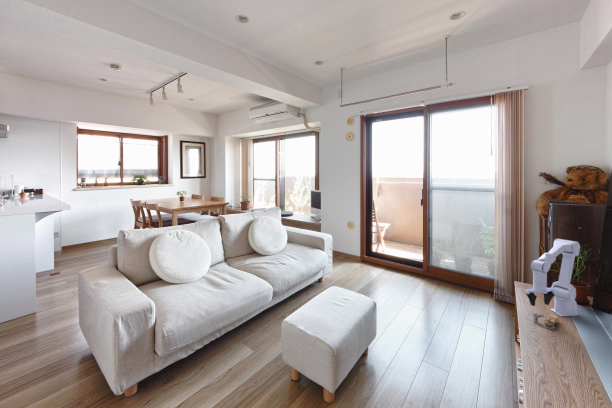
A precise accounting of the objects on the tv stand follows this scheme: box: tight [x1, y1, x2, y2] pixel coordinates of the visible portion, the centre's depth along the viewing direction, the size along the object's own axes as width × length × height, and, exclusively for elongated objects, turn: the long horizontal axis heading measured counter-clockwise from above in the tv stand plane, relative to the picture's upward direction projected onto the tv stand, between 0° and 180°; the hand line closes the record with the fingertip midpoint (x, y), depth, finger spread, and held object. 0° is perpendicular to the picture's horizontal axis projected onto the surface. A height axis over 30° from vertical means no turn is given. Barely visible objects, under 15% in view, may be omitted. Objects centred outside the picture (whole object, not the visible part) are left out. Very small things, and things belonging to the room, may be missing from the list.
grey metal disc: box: [542, 322, 556, 331], centre depth 146 cm, size 5×5×1 cm
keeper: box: [532, 312, 545, 324], centre depth 151 cm, size 2×4×5 cm, turn 93°
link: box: [544, 314, 559, 327], centre depth 148 cm, size 11×4×4 cm, turn 123°
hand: (539, 304), depth 150 cm, fingers open, 7 cm apart
